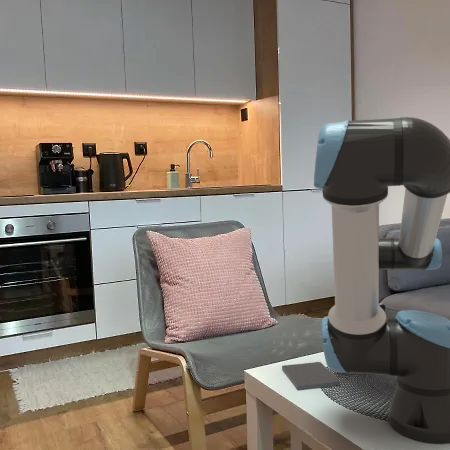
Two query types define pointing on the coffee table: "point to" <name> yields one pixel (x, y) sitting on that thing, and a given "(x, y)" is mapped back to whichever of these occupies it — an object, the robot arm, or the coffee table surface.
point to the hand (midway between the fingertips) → (360, 368)
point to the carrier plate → (310, 375)
